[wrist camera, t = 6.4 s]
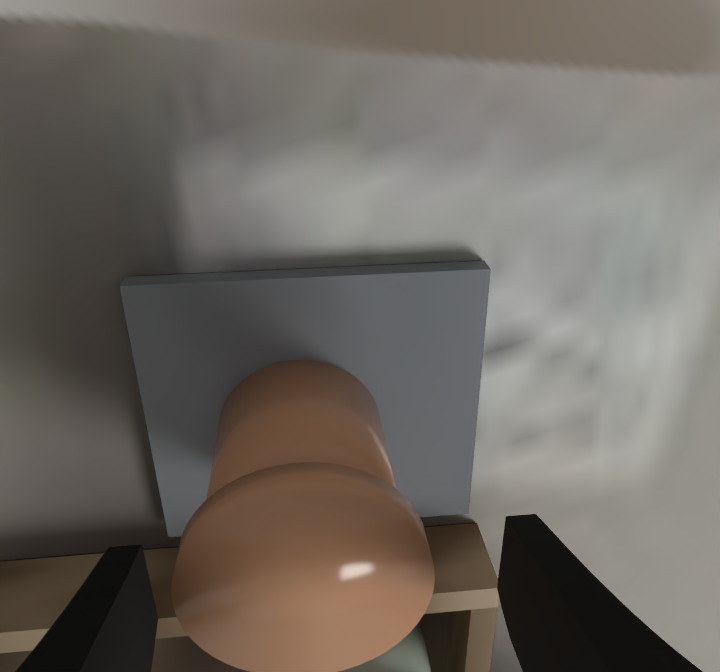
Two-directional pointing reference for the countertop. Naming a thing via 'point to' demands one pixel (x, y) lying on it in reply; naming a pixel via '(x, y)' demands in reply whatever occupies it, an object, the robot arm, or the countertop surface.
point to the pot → (301, 530)
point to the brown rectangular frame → (198, 668)
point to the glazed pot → (400, 656)
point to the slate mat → (318, 343)
